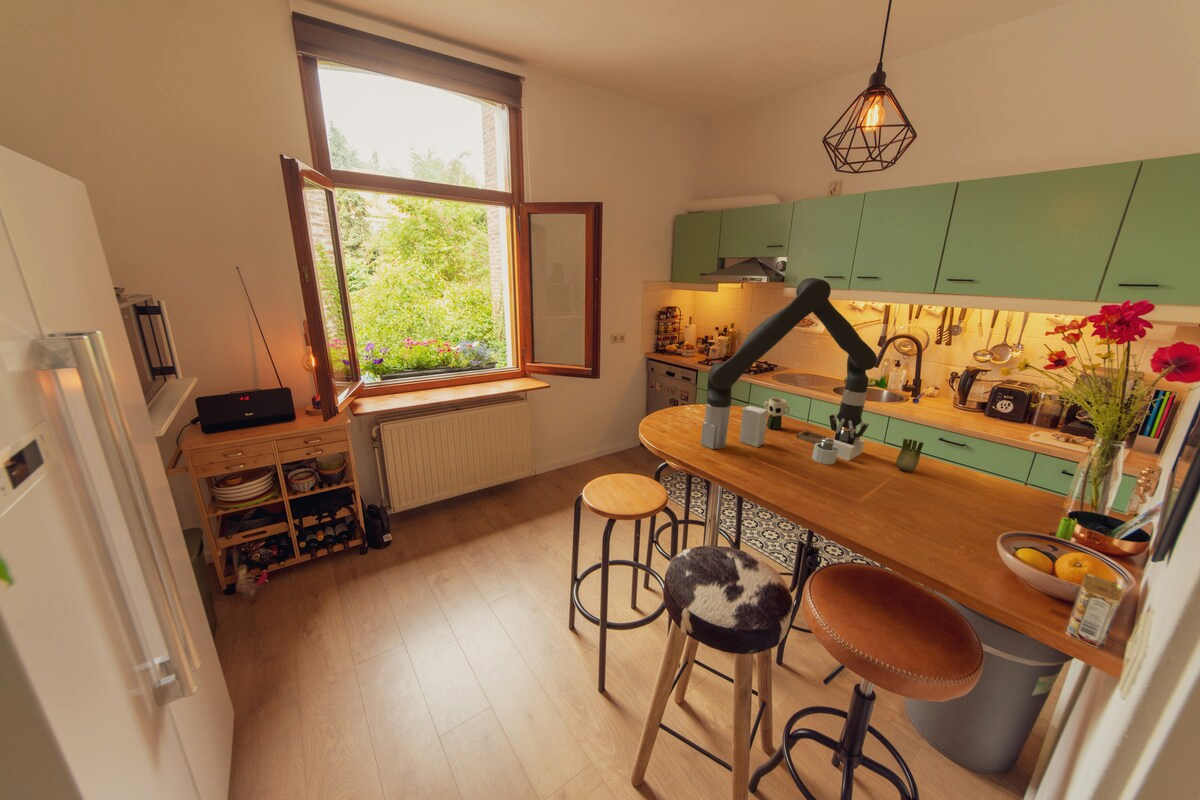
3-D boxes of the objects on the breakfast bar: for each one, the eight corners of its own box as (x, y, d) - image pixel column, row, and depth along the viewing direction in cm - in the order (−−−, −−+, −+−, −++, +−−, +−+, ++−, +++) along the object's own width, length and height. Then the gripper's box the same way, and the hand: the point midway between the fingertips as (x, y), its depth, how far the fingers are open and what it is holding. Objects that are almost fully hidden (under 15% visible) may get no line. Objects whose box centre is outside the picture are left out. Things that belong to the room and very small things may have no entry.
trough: (824, 449, 171) (826, 443, 170) (795, 439, 180) (796, 433, 179) (833, 444, 175) (834, 439, 175) (804, 435, 184) (805, 430, 184)
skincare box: (764, 444, 174) (769, 409, 169) (757, 448, 170) (762, 413, 165) (745, 438, 180) (749, 404, 175) (737, 441, 176) (742, 407, 171)
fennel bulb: (916, 472, 154) (925, 441, 150) (910, 475, 152) (918, 443, 148) (899, 465, 159) (907, 435, 155) (892, 468, 156) (900, 438, 153)
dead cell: (826, 463, 157) (831, 441, 154) (815, 459, 160) (819, 438, 157) (831, 460, 159) (835, 439, 157) (820, 456, 162) (824, 435, 160)
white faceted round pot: (828, 468, 155) (832, 453, 153) (808, 460, 160) (811, 446, 159) (838, 462, 159) (841, 448, 157) (817, 455, 165) (820, 441, 163)
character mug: (758, 426, 193) (762, 399, 189) (764, 422, 198) (768, 395, 194) (783, 433, 186) (788, 404, 182) (788, 428, 192) (793, 401, 188)
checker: (848, 462, 160) (852, 445, 157) (821, 453, 167) (824, 436, 165) (861, 454, 167) (865, 438, 165) (835, 446, 174) (838, 430, 172)
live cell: (846, 449, 163) (850, 428, 161) (835, 446, 166) (839, 425, 164) (850, 447, 166) (855, 426, 163) (839, 443, 169) (844, 423, 166)
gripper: (828, 398, 163) (820, 440, 169) (869, 408, 153) (859, 452, 158) (837, 395, 168) (829, 435, 173) (877, 405, 157) (867, 447, 163)
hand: (843, 443), depth 166 cm, fingers closed on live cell, 4 cm apart
